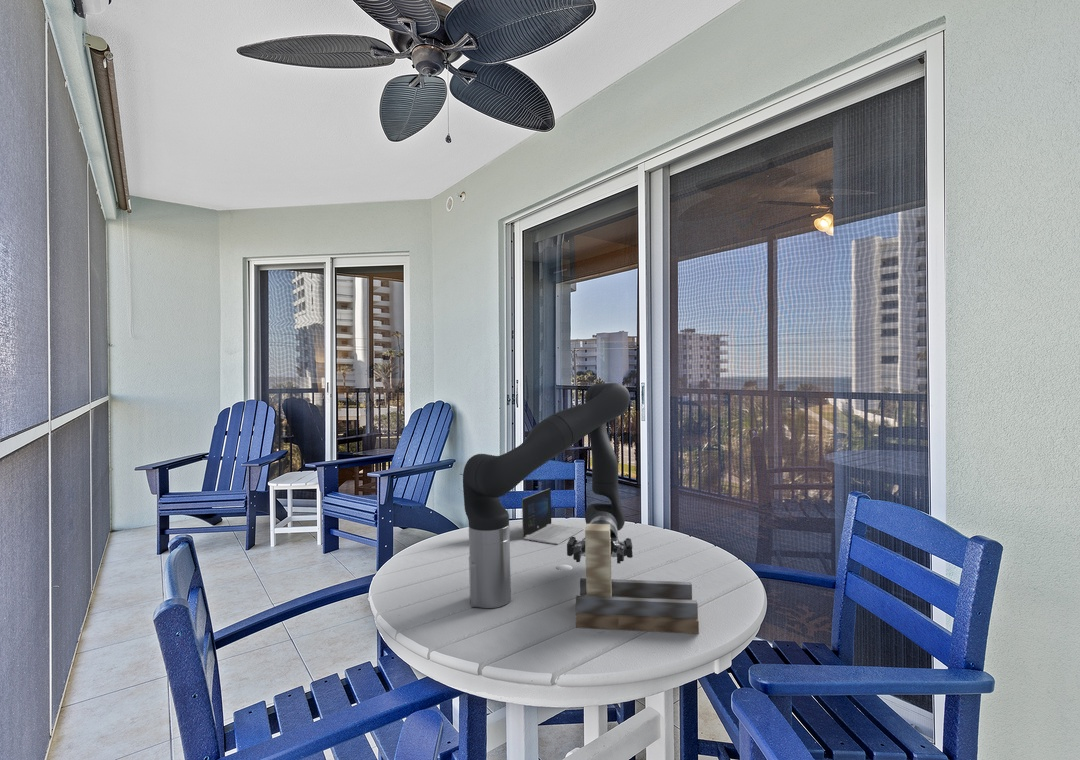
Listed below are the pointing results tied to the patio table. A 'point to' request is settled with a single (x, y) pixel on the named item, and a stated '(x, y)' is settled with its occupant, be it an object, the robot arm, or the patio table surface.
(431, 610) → the patio table surface
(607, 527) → the tall block
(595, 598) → the channel deck
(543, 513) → the laptop
